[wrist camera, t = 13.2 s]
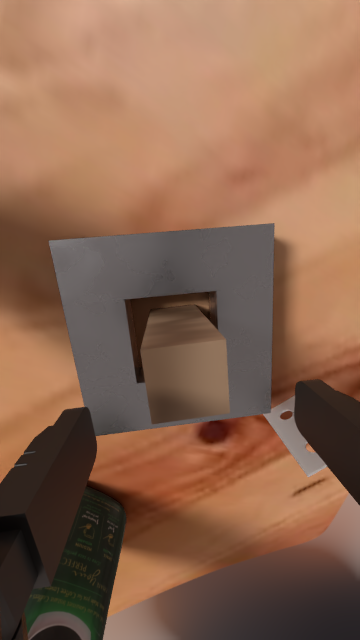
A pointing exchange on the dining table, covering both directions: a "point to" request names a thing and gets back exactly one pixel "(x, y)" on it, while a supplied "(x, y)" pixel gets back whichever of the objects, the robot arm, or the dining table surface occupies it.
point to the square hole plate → (161, 280)
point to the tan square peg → (184, 365)
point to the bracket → (294, 438)
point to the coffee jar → (81, 575)
